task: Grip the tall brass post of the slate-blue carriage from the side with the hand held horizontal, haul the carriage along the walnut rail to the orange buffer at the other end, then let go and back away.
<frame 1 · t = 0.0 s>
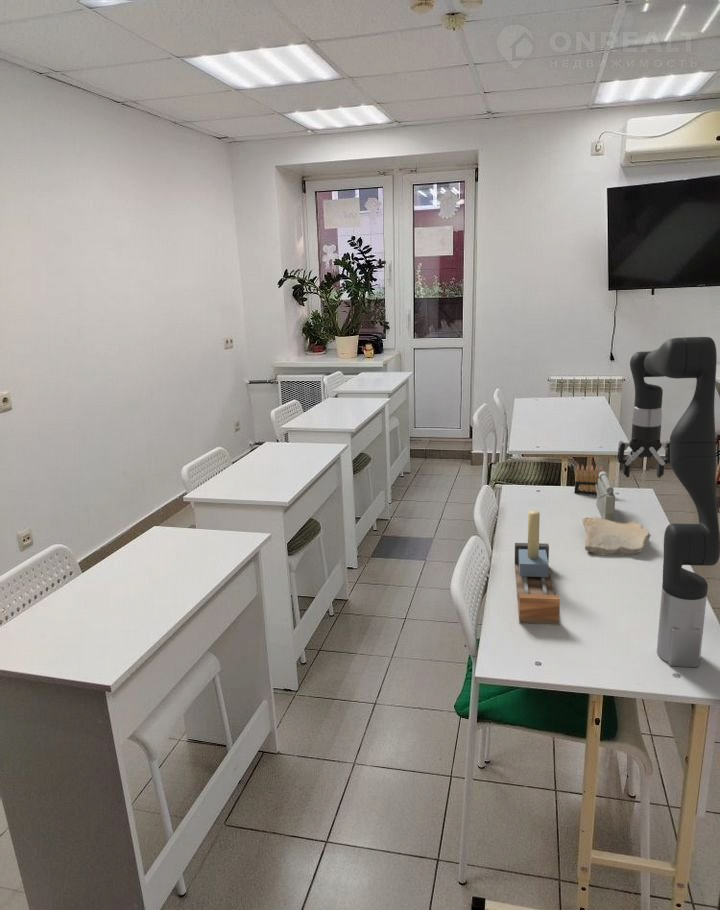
hand: (643, 476, 186), 29 cm above the table, tool pointing down, fingers open, 8 cm apart
geiger counter: (602, 513, 237), on the table
rail: (534, 592, 184), on the table
ammunition clip: (588, 494, 256), on the table
carriage: (533, 541, 190), point 12 cm above the table, slide at 18.0 cm
beige irregular chunk: (614, 542, 214), on the table
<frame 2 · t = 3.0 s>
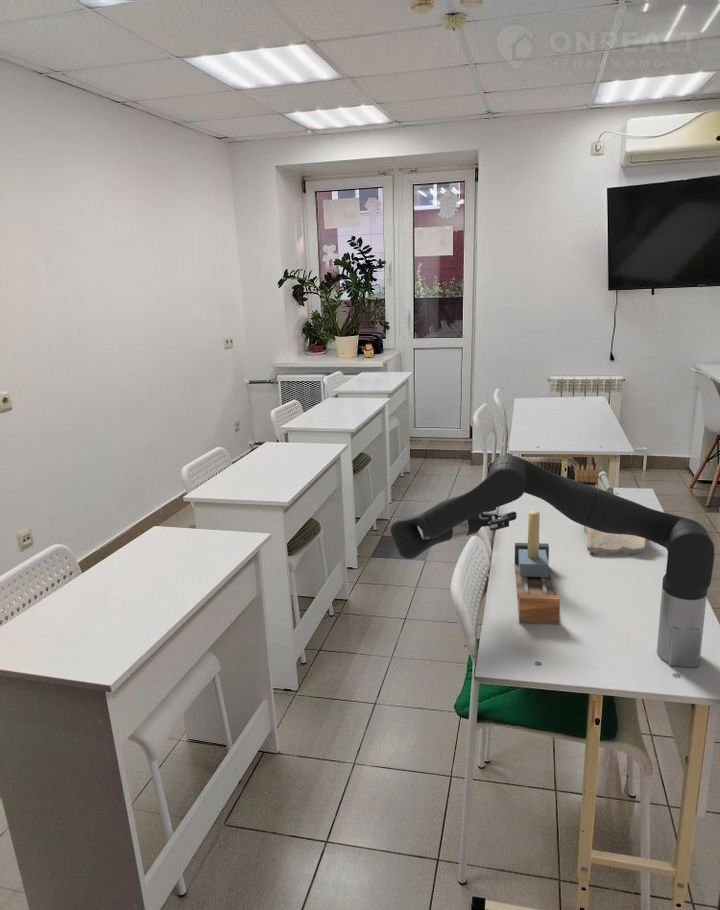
hand: (505, 510, 181), 24 cm above the table, tool horizontal, fingers open, 8 cm apart
nothing on the table moved.
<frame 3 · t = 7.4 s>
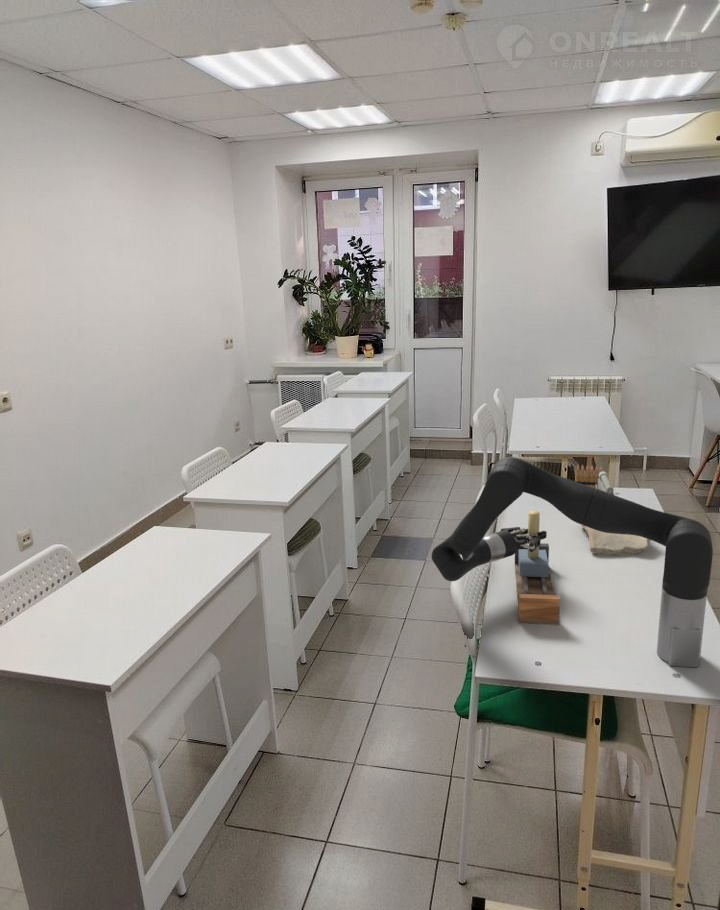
hand: (540, 532, 190), 14 cm above the table, tool horizontal, fingers closed on carriage, 3 cm apart
carriage: (533, 541, 190), point 12 cm above the table, slide at 18.0 cm, touching gripper
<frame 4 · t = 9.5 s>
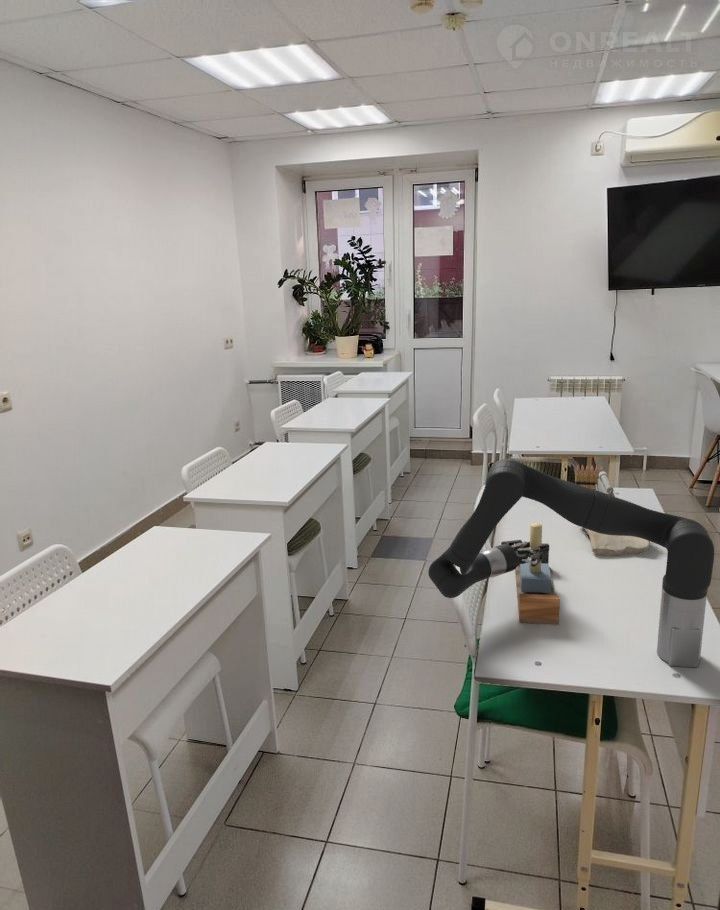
hand: (543, 545, 182), 14 cm above the table, tool horizontal, fingers closed on carriage, 3 cm apart
carriage: (535, 554, 181), point 12 cm above the table, slide at 8.7 cm, touching gripper
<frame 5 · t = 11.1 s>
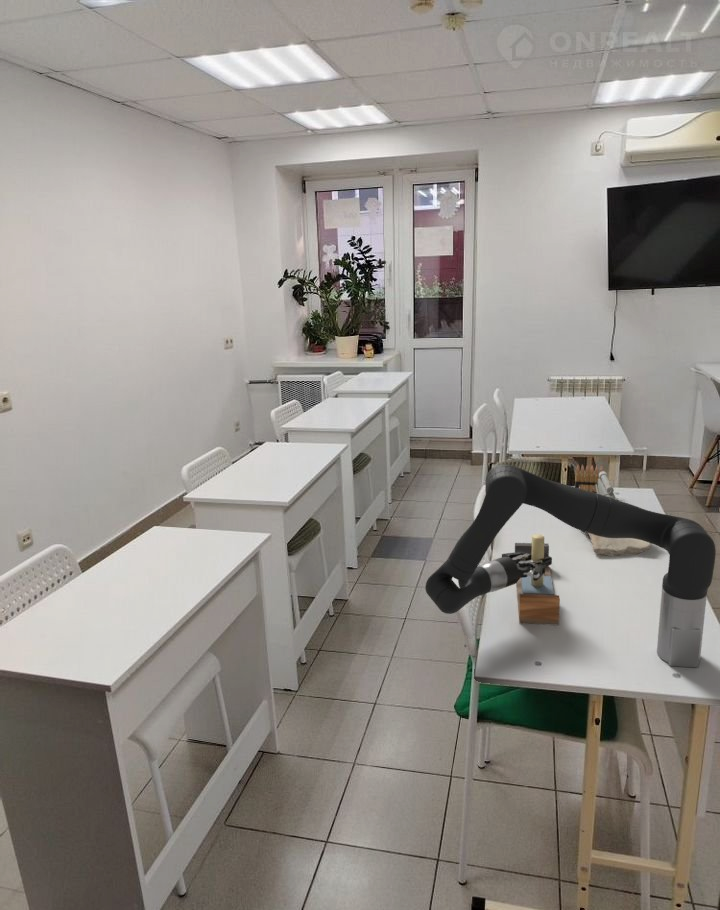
hand: (545, 557, 174), 14 cm above the table, tool horizontal, fingers closed on carriage, 3 cm apart
carriage: (537, 567, 173), point 12 cm above the table, slide at 0.9 cm, touching gripper
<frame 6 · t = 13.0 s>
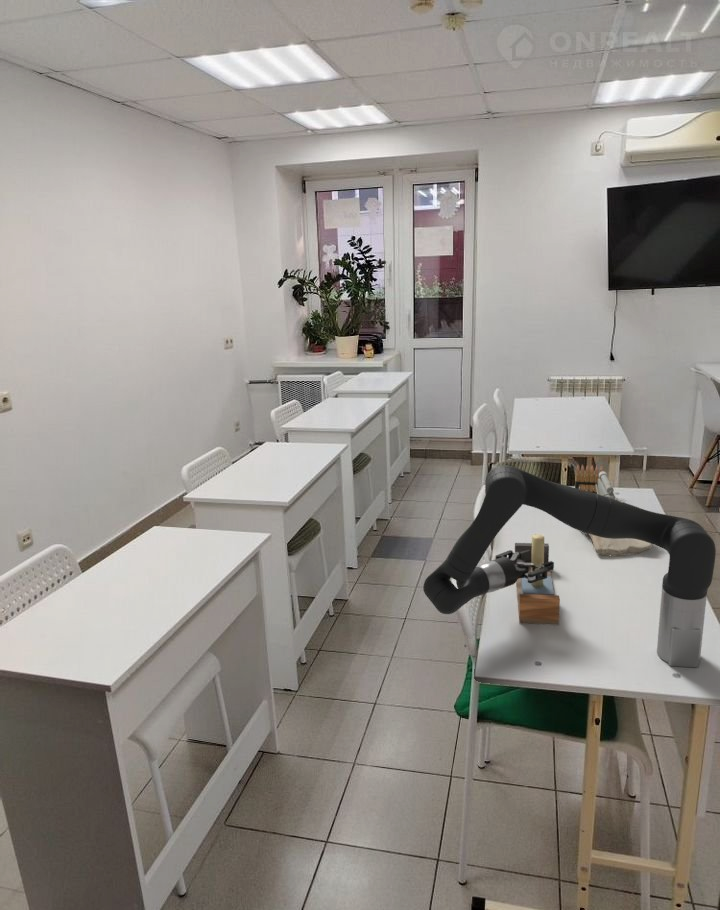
hand: (541, 559, 173), 14 cm above the table, tool horizontal, fingers open, 8 cm apart
carriage: (537, 567, 173), point 12 cm above the table, slide at 0.8 cm
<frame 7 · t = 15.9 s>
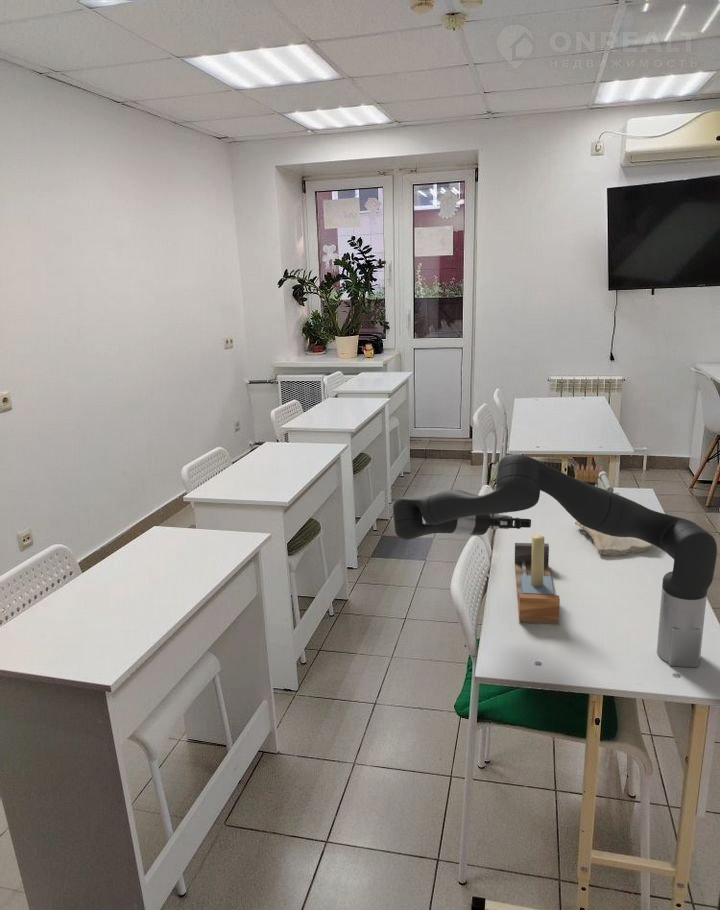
hand: (520, 521, 170), 25 cm above the table, tool horizontal, fingers open, 8 cm apart
geiger counter: (601, 513, 237), on the table, touching beige irregular chunk
beige irregular chunk: (615, 542, 214), on the table, touching geiger counter
everything else where it was.
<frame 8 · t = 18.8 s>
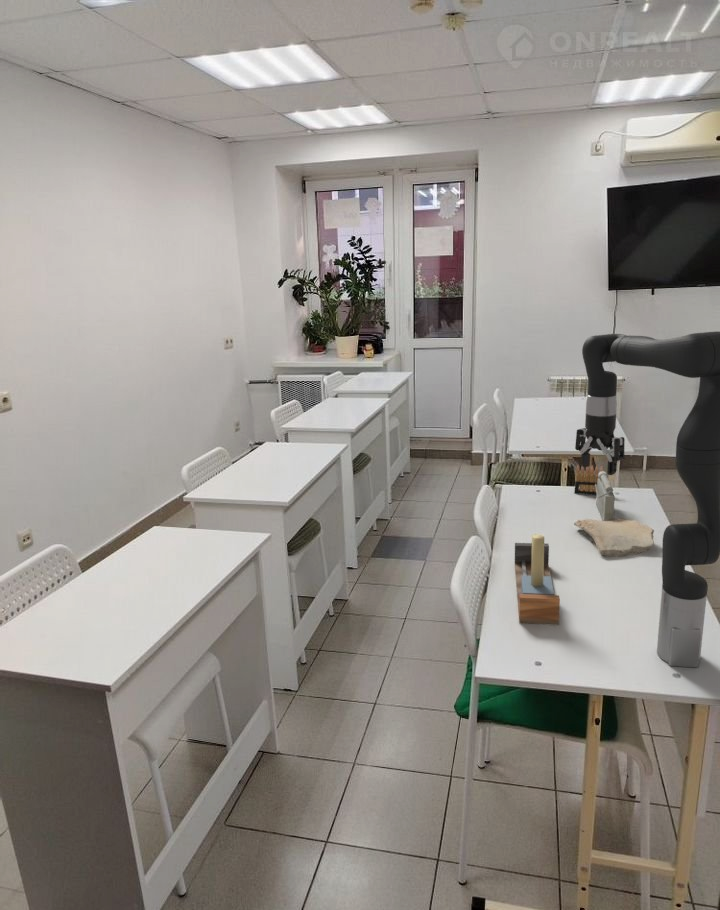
hand: (598, 470, 173), 36 cm above the table, tool pointing down, fingers open, 8 cm apart
nothing on the table moved.
at the end: carriage slide at 0.8 cm; the gripper is holding nothing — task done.
